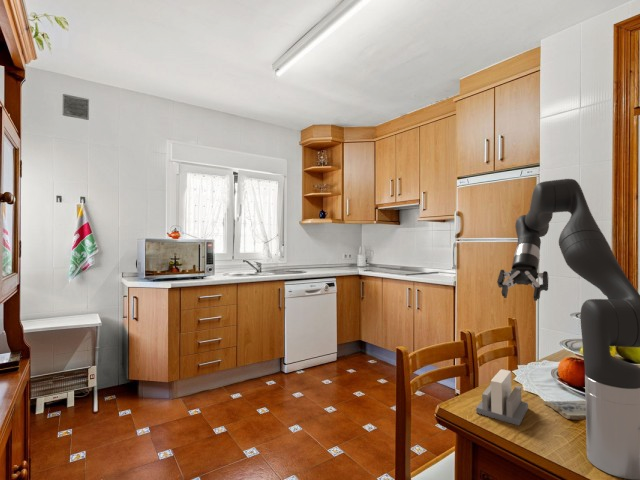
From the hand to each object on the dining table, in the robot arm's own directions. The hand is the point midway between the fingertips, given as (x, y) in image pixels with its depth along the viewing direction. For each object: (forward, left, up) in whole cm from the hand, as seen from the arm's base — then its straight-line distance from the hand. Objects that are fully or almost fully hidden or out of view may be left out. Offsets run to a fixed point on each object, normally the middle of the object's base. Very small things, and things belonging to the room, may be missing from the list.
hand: (519, 297), depth 111 cm
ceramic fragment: (-14, +13, -27) cm, 33 cm away
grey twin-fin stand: (0, +24, -27) cm, 36 cm away
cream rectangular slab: (0, +24, -25) cm, 35 cm away
